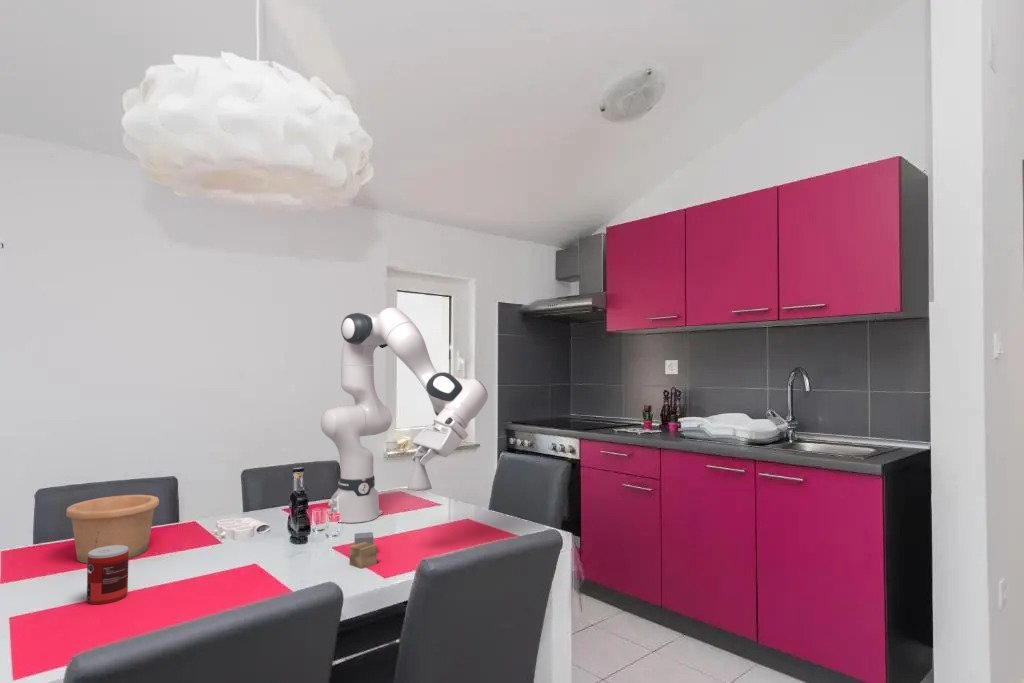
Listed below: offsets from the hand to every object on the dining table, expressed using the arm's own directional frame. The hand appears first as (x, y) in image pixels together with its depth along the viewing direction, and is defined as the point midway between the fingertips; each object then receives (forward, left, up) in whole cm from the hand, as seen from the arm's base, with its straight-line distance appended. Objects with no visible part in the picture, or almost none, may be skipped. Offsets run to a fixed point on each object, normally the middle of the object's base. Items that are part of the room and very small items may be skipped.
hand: (417, 462), depth 170 cm
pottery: (-51, -69, -26) cm, 90 cm away
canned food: (-14, -72, -26) cm, 78 cm away
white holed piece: (-52, -36, -26) cm, 68 cm away
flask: (0, +1, -8) cm, 8 cm away
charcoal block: (-9, -12, -26) cm, 30 cm away
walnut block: (0, -16, -26) cm, 30 cm away
